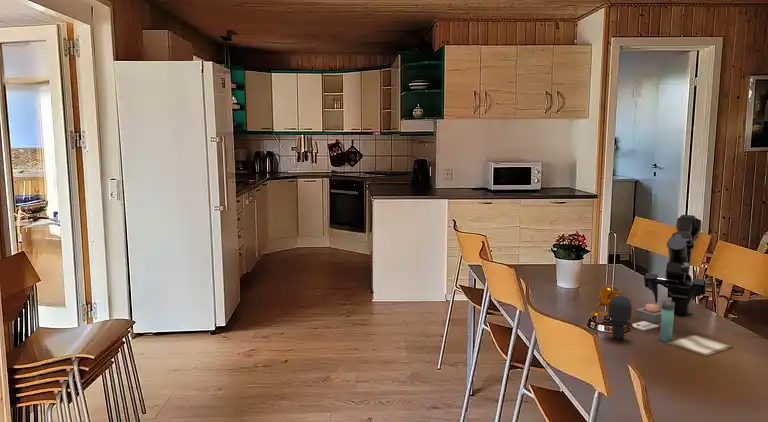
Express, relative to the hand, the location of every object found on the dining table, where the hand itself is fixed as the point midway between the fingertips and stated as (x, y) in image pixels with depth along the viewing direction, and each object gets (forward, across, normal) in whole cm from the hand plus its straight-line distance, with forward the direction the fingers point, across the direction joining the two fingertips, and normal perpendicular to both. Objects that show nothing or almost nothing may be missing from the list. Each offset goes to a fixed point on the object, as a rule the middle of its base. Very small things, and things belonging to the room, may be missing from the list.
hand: (671, 304), depth 191 cm
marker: (+11, 0, +5) cm, 12 cm away
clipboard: (+10, +9, +5) cm, 15 cm away
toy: (+16, -14, 0) cm, 22 cm away
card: (+3, -9, +13) cm, 16 cm away
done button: (-6, -8, +19) cm, 21 cm away
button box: (-5, -8, +20) cm, 22 cm away
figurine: (0, -23, +15) cm, 27 cm away
